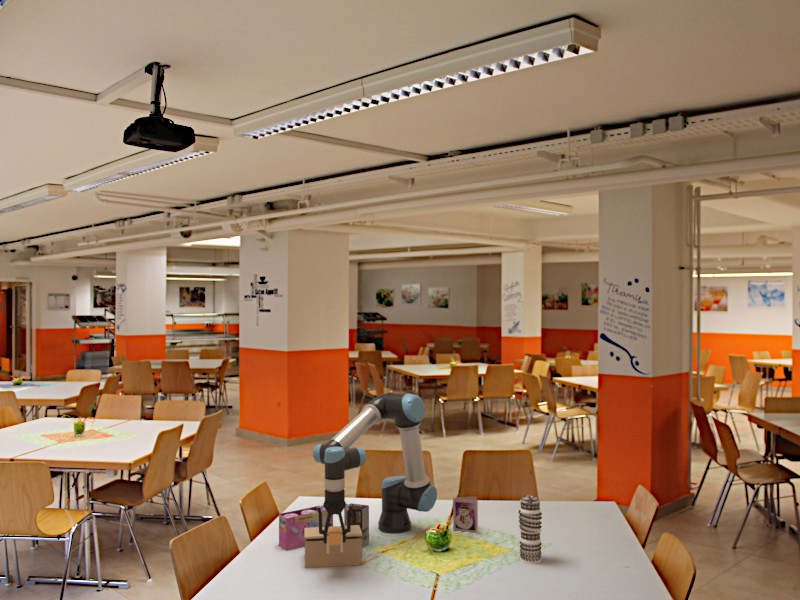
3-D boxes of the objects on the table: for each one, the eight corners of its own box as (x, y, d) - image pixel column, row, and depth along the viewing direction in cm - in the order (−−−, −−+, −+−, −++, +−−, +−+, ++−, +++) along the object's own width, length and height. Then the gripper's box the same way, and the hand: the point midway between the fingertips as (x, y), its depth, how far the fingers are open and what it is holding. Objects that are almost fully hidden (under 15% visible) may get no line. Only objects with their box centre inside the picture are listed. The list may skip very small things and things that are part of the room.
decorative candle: (528, 566, 247) (528, 501, 248) (514, 558, 256) (513, 495, 256) (547, 561, 252) (546, 498, 252) (532, 554, 260) (531, 492, 261)
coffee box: (369, 543, 273) (369, 505, 274) (362, 548, 267) (362, 509, 268) (351, 540, 277) (351, 502, 277) (343, 544, 271) (343, 506, 272)
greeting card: (452, 531, 287) (452, 498, 288) (457, 526, 294) (457, 494, 295) (477, 534, 283) (477, 500, 284) (481, 529, 290) (481, 496, 290)
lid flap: (359, 527, 263) (359, 517, 264) (365, 543, 239) (364, 532, 239) (304, 529, 260) (304, 519, 261) (304, 546, 235) (304, 535, 236)
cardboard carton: (358, 551, 263) (358, 527, 263) (361, 564, 249) (361, 538, 250) (304, 554, 260) (304, 529, 260) (305, 567, 246) (305, 541, 246)
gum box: (327, 534, 285) (327, 503, 285) (336, 539, 278) (336, 508, 279) (278, 545, 271) (278, 513, 271) (286, 551, 264) (286, 518, 265)
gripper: (356, 485, 246) (357, 546, 245) (311, 487, 243) (311, 549, 242) (358, 490, 238) (358, 553, 237) (311, 492, 235) (311, 556, 235)
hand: (334, 551), depth 240 cm, fingers closed on lid flap, 4 cm apart
